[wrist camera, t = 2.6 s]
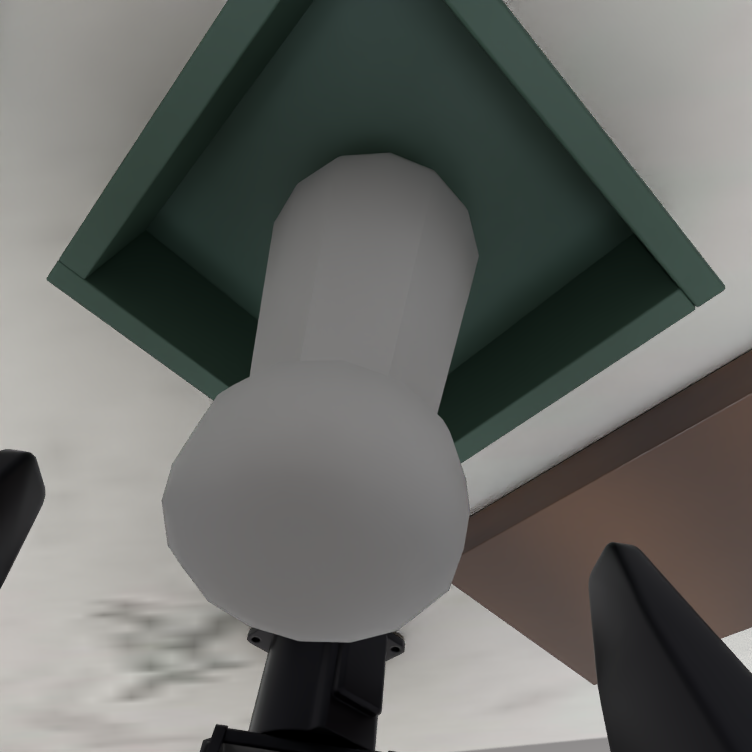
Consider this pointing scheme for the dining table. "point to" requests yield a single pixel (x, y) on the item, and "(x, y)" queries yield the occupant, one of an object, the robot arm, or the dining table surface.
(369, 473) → the salt shaker
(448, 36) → the green square tray
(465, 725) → the dining table surface
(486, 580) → the serving board
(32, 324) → the dining table surface
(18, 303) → the dining table surface
